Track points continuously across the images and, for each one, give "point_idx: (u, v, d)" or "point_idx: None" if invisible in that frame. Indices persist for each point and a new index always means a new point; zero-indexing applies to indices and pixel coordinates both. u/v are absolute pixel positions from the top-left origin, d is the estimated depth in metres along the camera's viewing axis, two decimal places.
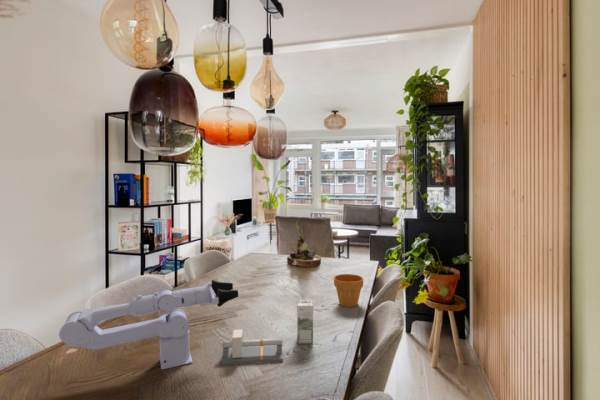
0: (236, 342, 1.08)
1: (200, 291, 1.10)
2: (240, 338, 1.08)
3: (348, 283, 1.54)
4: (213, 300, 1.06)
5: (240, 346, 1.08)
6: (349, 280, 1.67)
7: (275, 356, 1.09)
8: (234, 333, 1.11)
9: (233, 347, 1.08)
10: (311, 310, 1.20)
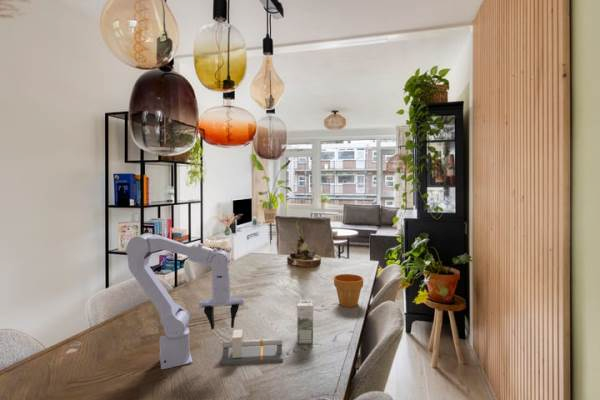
0: (236, 342, 1.08)
1: (214, 293, 1.08)
2: (240, 338, 1.08)
3: (348, 283, 1.54)
4: None
5: (240, 346, 1.08)
6: (349, 280, 1.67)
7: (275, 356, 1.09)
8: (234, 333, 1.11)
9: (233, 347, 1.08)
10: (311, 310, 1.20)
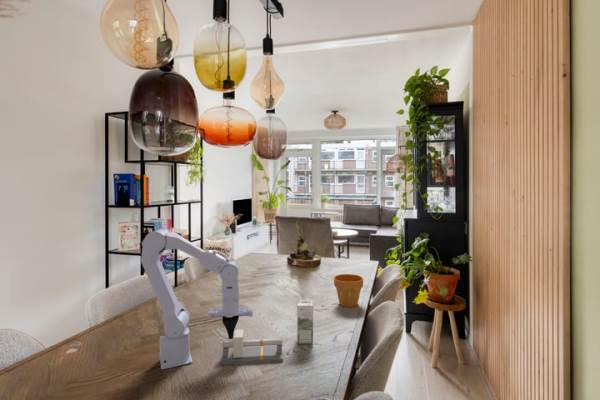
0: (237, 342, 1.08)
1: (224, 304, 1.08)
2: (241, 338, 1.08)
3: (348, 283, 1.54)
4: (208, 313, 1.09)
5: (241, 346, 1.08)
6: (349, 280, 1.67)
7: (275, 356, 1.09)
8: (235, 333, 1.11)
9: (234, 347, 1.08)
10: (311, 310, 1.20)
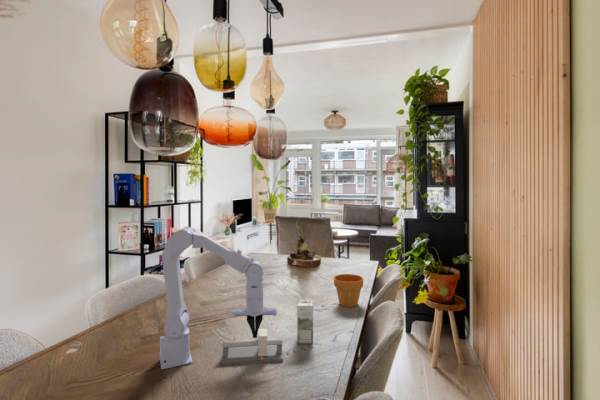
0: (262, 341, 1.09)
1: (248, 303, 1.09)
2: (265, 337, 1.09)
3: (348, 283, 1.54)
4: None
5: (265, 345, 1.09)
6: (349, 280, 1.67)
7: (275, 356, 1.09)
8: (259, 332, 1.12)
9: (259, 346, 1.09)
10: (311, 310, 1.20)
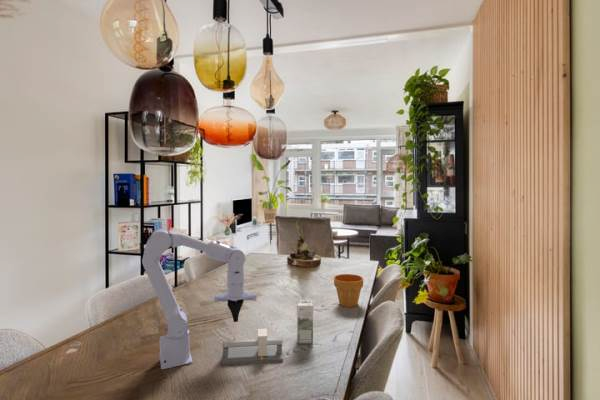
0: (262, 341, 1.09)
1: (229, 288, 1.13)
2: (265, 337, 1.09)
3: (348, 283, 1.54)
4: None
5: (265, 345, 1.09)
6: (349, 280, 1.67)
7: (275, 356, 1.09)
8: (259, 332, 1.12)
9: (259, 346, 1.09)
10: (311, 310, 1.20)
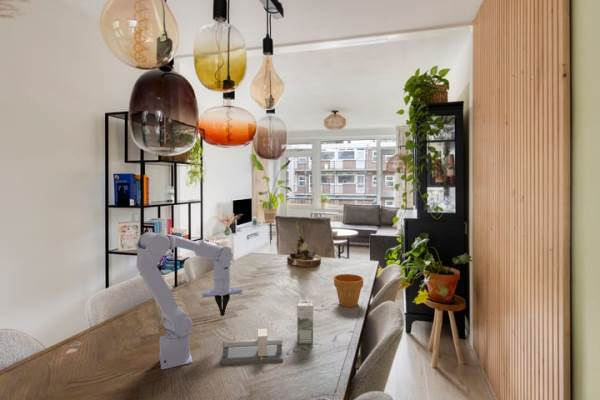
0: (262, 341, 1.09)
1: (217, 284, 1.18)
2: (265, 337, 1.09)
3: (348, 283, 1.54)
4: (201, 293, 1.19)
5: (265, 345, 1.09)
6: (349, 280, 1.67)
7: (275, 356, 1.09)
8: (259, 332, 1.12)
9: (259, 346, 1.09)
10: (311, 310, 1.20)
